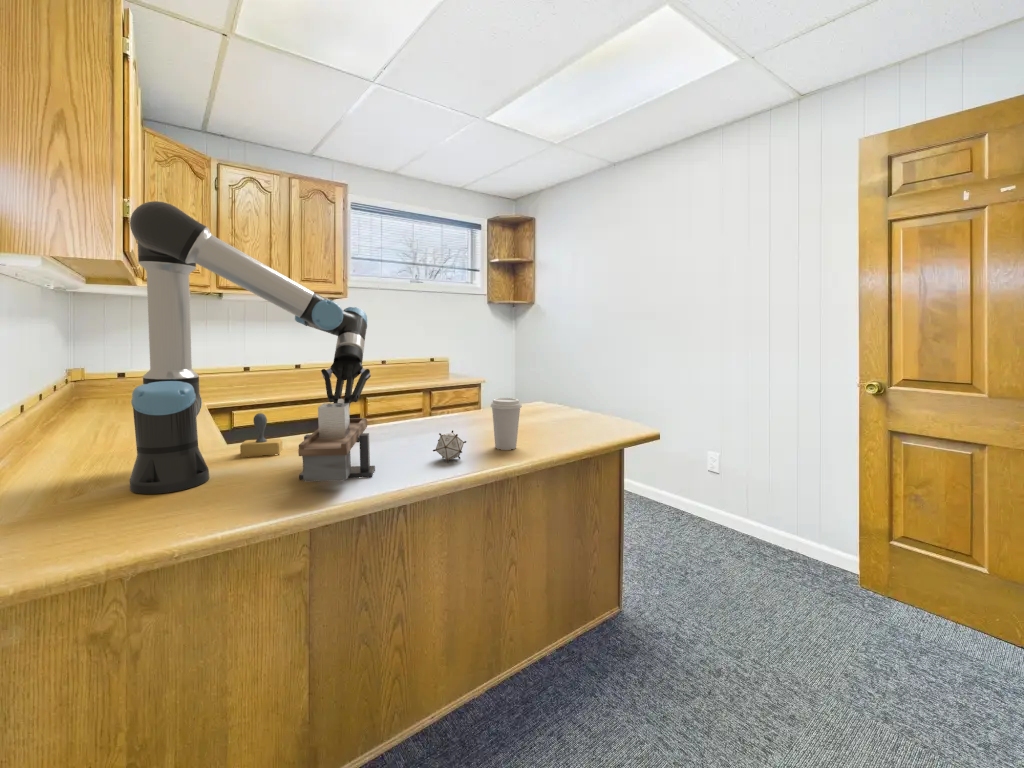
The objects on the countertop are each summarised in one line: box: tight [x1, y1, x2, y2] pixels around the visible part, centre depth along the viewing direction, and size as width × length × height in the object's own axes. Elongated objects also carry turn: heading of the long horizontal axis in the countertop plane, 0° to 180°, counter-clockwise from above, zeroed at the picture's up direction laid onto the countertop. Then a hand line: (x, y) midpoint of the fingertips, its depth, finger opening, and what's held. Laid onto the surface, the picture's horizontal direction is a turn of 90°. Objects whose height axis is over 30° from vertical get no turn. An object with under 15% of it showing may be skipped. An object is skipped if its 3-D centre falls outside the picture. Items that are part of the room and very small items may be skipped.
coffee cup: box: [490, 397, 522, 451], centre depth 148 cm, size 10×10×15 cm
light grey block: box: [317, 402, 350, 439], centre depth 117 cm, size 6×6×8 cm
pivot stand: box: [298, 432, 376, 480], centre depth 120 cm, size 6×17×10 cm, turn 98°
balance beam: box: [297, 417, 368, 483], centre depth 120 cm, size 30×10×8 cm, turn 8°
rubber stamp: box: [239, 412, 284, 458], centre depth 139 cm, size 10×6×12 cm, turn 106°
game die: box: [432, 429, 467, 463], centre depth 135 cm, size 9×8×10 cm
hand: (338, 422), depth 122 cm, fingers closed
